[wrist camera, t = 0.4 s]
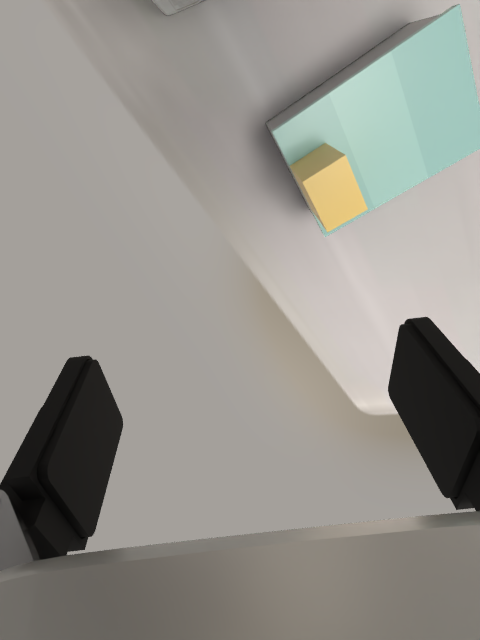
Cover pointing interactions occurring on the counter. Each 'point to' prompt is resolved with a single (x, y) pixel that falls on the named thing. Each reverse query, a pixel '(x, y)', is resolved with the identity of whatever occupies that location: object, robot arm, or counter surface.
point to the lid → (386, 125)
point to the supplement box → (174, 5)
